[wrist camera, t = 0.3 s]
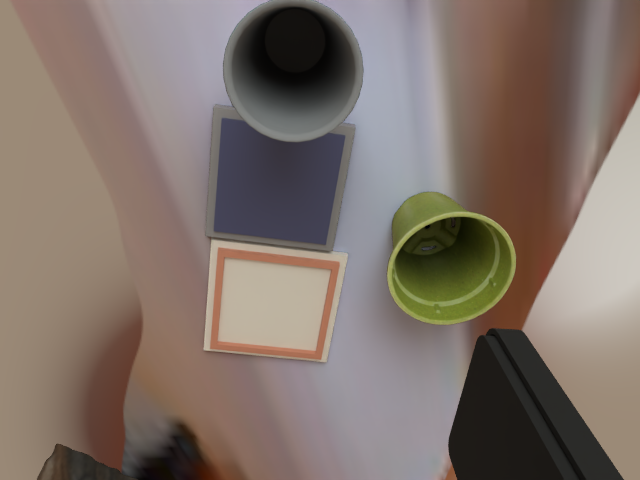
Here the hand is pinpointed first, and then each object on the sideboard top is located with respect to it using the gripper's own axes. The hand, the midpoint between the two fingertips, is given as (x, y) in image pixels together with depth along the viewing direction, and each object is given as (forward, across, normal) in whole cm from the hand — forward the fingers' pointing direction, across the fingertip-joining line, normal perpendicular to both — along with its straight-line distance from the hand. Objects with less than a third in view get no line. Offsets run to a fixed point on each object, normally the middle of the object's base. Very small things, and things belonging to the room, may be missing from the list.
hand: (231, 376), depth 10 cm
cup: (+34, -1, -3) cm, 34 cm away
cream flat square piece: (+34, -1, +20) cm, 39 cm away
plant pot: (+34, -14, +11) cm, 38 cm away
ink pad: (+34, -1, +8) cm, 35 cm away
